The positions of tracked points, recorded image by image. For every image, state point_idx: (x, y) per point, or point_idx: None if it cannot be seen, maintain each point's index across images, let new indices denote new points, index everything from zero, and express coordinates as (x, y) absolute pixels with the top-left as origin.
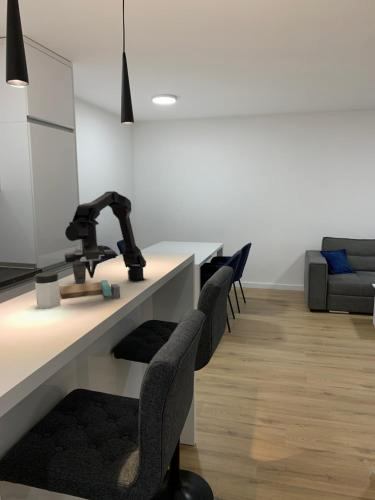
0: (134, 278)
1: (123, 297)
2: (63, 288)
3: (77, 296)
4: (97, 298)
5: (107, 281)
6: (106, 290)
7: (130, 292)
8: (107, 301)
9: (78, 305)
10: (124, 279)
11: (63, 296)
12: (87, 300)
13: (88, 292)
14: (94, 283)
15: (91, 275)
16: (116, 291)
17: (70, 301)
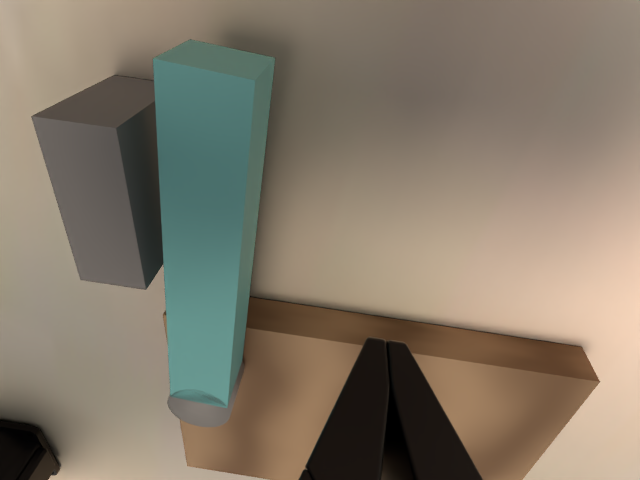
0: (7, 442)
1: (81, 89)
2: (494, 477)
3: (456, 332)
4: (326, 204)
5: (170, 383)
6: (226, 66)
7: (23, 216)
8: (261, 31)
9: (595, 63)
10: (84, 473)
11: (573, 360)
12: (428, 195)
13: (366, 334)
14: (268, 465)
15: (395, 372)
16: (109, 106)
17: (567, 251)
